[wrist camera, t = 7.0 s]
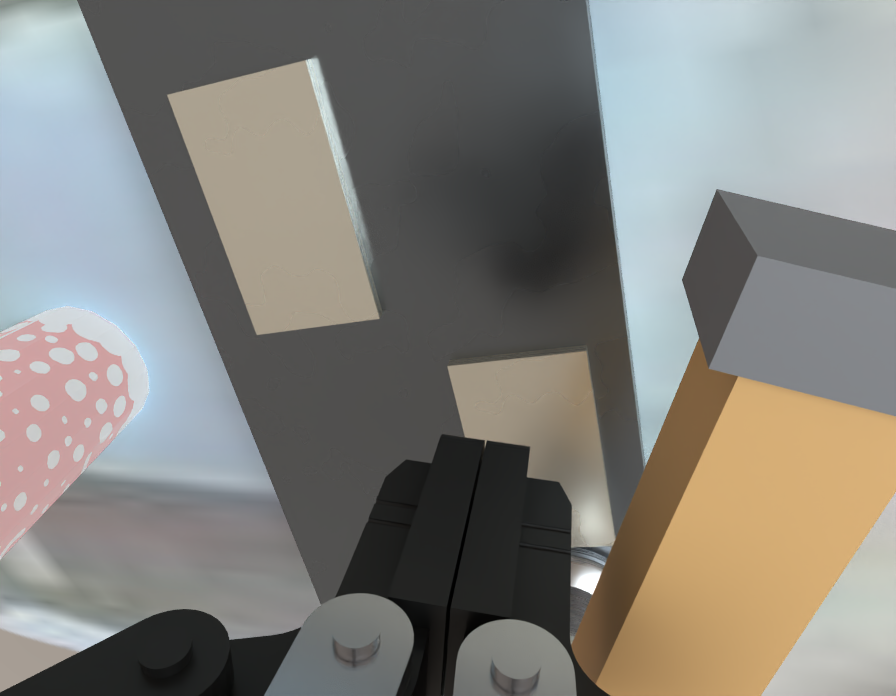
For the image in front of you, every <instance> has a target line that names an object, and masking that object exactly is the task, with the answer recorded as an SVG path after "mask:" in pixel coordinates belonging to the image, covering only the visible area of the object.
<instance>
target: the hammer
mask: <svg viewBox="0 0 896 696" xmlns="http://www.w3.org/2000/svg"><path fill="white" fill-rule="evenodd" d="M682 281H683V284H684V288H685V291H686V294H687V298H688V301H689V305H690V308H691V311H692V315H693V318H694V321H695V325H696V328H697V331H698V335H699V340H698V342H697V345H696V347H695V349H694V352H693V354H692V357H691V359H690V361H689V364H688V366H687V369H686V371H685V373H684V376H683V378H682V381H681V383H680V385H679V388H678V390H677V393H676V395H675V397H674V400H673V402H672V405H671V407H670V409H669V412H668V414H667V417H666V419H665V421H664V424H663V426H662V429H661V431H660V433H659V436H658V438H657V441H656V443H655V445H654V448H653V450H652V453H651V455H650V457H649V460H648V462H647V465H646V467H645V469H644V472H643V474H642V477H641V479H640V481H639V484H638V486H637V489H636V491H635V493H634V496H633V498H632V501H631V503H630V505H629V508H628V510H627V513H626V515H625V517H624V520H623V522H622V525H621V527H620V529H619V532H618V534H617V537H616V539H615V541H614V544H613V546H612V549H611V551H610V553H609V556H608V558H607V561H606V563H605V565H604V568H603V570H602V573H601V575H600V577H599V580H598V582H597V585H596V587H595V589H594V592H593V594H592V597H591V599H590V601H589V604H588V606H587V609H586V611H585V613H584V616H583V618H582V621H581V623H580V625H579V628H578V630H577V633H576V635H575V637H574V640H573V642H572V645H571V646H572V650H573V653H574V655H575V658H576V660H577V662H578V663H579V665H580V667H581V668H582V670H583V671H584V672H585V674H586V675H587V676H588V677H589V678H590V679H591V680H592V681H593V682H594V683H595V684H596V685H597V686H598V687H599V688H601V689H602V690H603V691H605V692H606V693H607V694H609V695H611V696H761V694H762V693H763V691H764V690H765V688H766V687H767V685H768V684H769V682H770V681H771V679H772V678H773V676H774V675H775V673H776V672H777V670H778V669H779V667H780V666H781V664H782V663H783V661H784V660H785V658H786V657H787V655H788V654H789V652H790V651H791V649H792V648H793V646H794V645H795V643H796V642H797V640H798V639H799V637H800V636H801V634H802V633H803V631H804V630H805V628H806V627H807V625H808V623H809V622H810V620H811V619H812V617H813V616H814V614H815V613H816V611H817V610H818V608H819V607H820V605H821V604H822V602H823V601H824V599H825V598H826V596H827V595H828V593H829V592H830V590H831V589H832V587H833V586H834V584H835V583H836V581H837V580H838V578H839V577H840V575H841V574H842V572H843V571H844V569H845V568H846V566H847V565H848V563H849V562H850V560H851V559H852V557H853V556H854V554H855V552H856V551H857V549H858V548H859V546H860V545H861V543H862V542H863V540H864V539H865V537H866V536H867V534H868V533H869V531H870V530H871V528H872V527H873V525H874V524H875V522H876V521H877V519H878V518H879V516H880V515H881V513H882V512H883V510H884V509H885V507H886V506H887V504H888V503H889V501H890V500H891V498H892V497H893V495H894V494H895V492H896V231H894V230H890V229H886V228H881V227H877V226H873V225H868V224H864V223H860V222H856V221H851V220H847V219H843V218H838V217H834V216H830V215H825V214H821V213H817V212H812V211H808V210H804V209H800V208H795V207H791V206H787V205H782V204H778V203H774V202H769V201H765V200H761V199H757V198H752V197H748V196H744V195H739V194H735V193H731V192H726V191H722V190H718V189H717V190H716V193H715V195H714V198H713V201H712V203H711V206H710V208H709V211H708V214H707V216H706V219H705V221H704V224H703V227H702V229H701V232H700V234H699V237H698V240H697V242H696V245H695V247H694V250H693V253H692V255H691V258H690V260H689V263H688V266H687V268H686V271H685V273H684V276H683V279H682Z"/></svg>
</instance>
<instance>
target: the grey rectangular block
mask: <svg viewBox="0 0 896 696" xmlns="http://www.w3.org/2000/svg"><path fill="white" fill-rule="evenodd" d="M77 1H78V3H79V6H80V8H81V11H82V13H83V16H84V18H85V21H86V23H87V26H88V28H89V31H90V33H91V36H92V38H93V41H94V43H95V45H96V48H97V50H98V53H99V55H100V58H101V60H102V63H103V65H104V68H105V70H106V73H107V75H108V78H109V80H110V83H111V85H112V88H113V90H114V93H115V95H116V98H117V100H118V102H119V105H120V107H121V110H122V112H123V115H124V117H125V120H126V122H127V125H128V127H129V130H130V132H131V135H132V137H133V140H134V142H135V145H136V147H137V150H138V152H139V155H140V157H141V159H142V162H143V164H144V167H145V169H146V172H147V174H148V177H149V179H150V182H151V184H152V187H153V189H154V192H155V194H156V197H157V199H158V202H159V204H160V207H161V209H162V212H163V214H164V216H165V219H166V221H167V224H168V226H169V229H170V231H171V234H172V236H173V239H174V241H175V244H176V246H177V249H178V251H179V254H180V256H181V259H182V261H183V264H184V266H185V269H186V271H187V273H188V276H189V278H190V281H191V283H192V286H193V288H194V291H195V293H196V296H197V298H198V301H199V303H200V306H201V308H202V311H203V313H204V316H205V318H206V321H207V323H208V325H209V328H210V330H211V333H212V335H213V338H214V340H215V343H216V345H217V348H218V350H219V353H220V355H221V358H222V360H223V363H224V365H225V368H226V370H227V373H228V375H229V378H230V380H231V382H232V385H233V387H234V390H235V392H236V395H237V397H238V400H239V402H240V405H241V407H242V410H243V412H244V415H245V417H246V420H247V422H248V425H249V427H250V430H251V432H252V435H253V437H254V439H255V442H256V444H257V447H258V449H259V452H260V454H261V457H262V459H263V462H264V464H265V467H266V469H267V472H268V474H269V477H270V479H271V482H272V484H273V487H274V489H275V492H276V494H277V496H278V499H279V501H280V504H281V506H282V509H283V511H284V514H285V516H286V519H287V521H288V524H289V526H290V529H291V531H292V534H293V536H294V539H295V541H296V544H297V546H298V549H299V551H300V553H301V556H302V558H303V561H304V563H305V566H306V568H307V571H308V573H309V576H310V578H311V581H312V583H313V586H314V588H315V591H316V593H317V596H318V598H319V601H320V603H321V605H322V604H324V603H326V602H327V601H329V600H331V599H334V598H335V596H336V594H337V592H338V590H339V588H340V585H341V583H342V580H343V578H344V576H345V573H346V571H347V568H348V566H349V563H350V561H351V559H352V556H353V554H354V551H355V549H356V547H357V544H358V542H359V539H360V537H361V535H362V532H363V530H364V527H365V525H366V523H368V519H369V515H370V513H371V511H372V508H373V506H374V504H376V499H377V496H378V494H379V491H380V489H381V487H382V484H383V482H384V479H385V477H386V476H387V475H388V474H389V473H391V472H392V471H393V470H394V469H395V468H396V467H398V466H399V465H400V464H401V463H402V462H403V461H405V460H406V459H407V460H413V461H420V462H427V463H432V460H433V457H434V454H435V451H436V448H437V445H438V442H439V439H440V436H441V435H442V434H445V435H452V436H460V437H467V438H474V439H481V440H485V446H486V442H487V440H488V441H495V442H503V443H510V444H517V445H524V446H530V454H529V462H528V471H527V477H529V478H536V479H542V480H549V481H556V482H559V483H560V484H561V486H562V488H563V490H564V492H565V493H566V495H567V497H568V499H569V501H570V502H571V504H572V530H571V593H570V642H571V645H572V642H573V640H574V637H575V635H576V633H577V630H578V628H579V625H580V623H581V621H582V618H583V616H584V613H585V611H586V609H587V606H588V604H589V601H590V599H591V597H592V594H593V592H594V589H595V587H596V585H597V582H598V580H599V577H600V575H601V573H602V570H603V568H604V565H605V563H606V561H607V558H608V556H609V553H610V551H611V549H612V546H613V544H614V541H615V539H616V537H617V534H618V532H619V529H620V527H621V525H622V522H623V520H624V517H625V515H626V513H627V510H628V508H629V505H630V503H631V501H632V498H633V496H634V493H635V491H636V489H637V486H638V484H639V481H640V479H641V477H642V474H643V472H644V469H645V458H644V450H643V442H642V434H641V426H640V417H639V409H638V401H637V393H636V385H635V377H634V368H633V360H632V352H631V344H630V336H629V327H628V319H627V311H626V303H625V295H624V286H623V278H622V270H621V262H620V254H619V246H618V237H617V229H616V221H615V213H614V205H613V196H612V188H611V180H610V172H609V164H608V155H607V147H606V139H605V131H604V123H603V114H602V106H601V98H600V90H599V82H598V74H597V65H596V57H595V49H594V41H593V33H592V24H591V16H590V8H589V0H77Z"/></svg>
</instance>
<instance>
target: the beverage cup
mask: <svg viewBox="0 0 896 696" xmlns="http://www.w3.org/2000/svg"><path fill="white" fill-rule="evenodd" d="M148 394H149V381H148V371H147V367H146V365H145V363H144V361H143V359H142V357H141V355H140V353H139V351H138V349H137V347H136V345H135V344H134V343H133V342H132V341H131V340H130V339H129V338H128V337H127V336H126V335H125V334H124V333H123V332H122V331H121V330H120V329H119V328H118V327H117V326H116V325H115V324H113V323H112V322H110V321H108V320H106V319H105V318H103V317H101V316H100V315H98V314H96V313H94V312H93V311H89V310H84V309H80V308H75V307H70V306H65V307H60V308H55V309H51V310H46V311H44V312H42V313H40V314H38V315H36V316H33V317H31V318H29V319H27V320H25V321H23V322H21V323H19V324H16V325H14V326H12V327H10V328H8V329H6V330H4V331H2V332H0V559H1V558H2V557H3V556H4V555H5V554H6V553H7V552H8V551H9V550H10V549H11V548H12V547H13V546H14V544H15V543H16V542H17V541H18V540H19V539H20V538H21V537H22V536H23V535H24V534H25V533H26V532H27V531H28V530H29V529H30V528H31V526H32V525H33V524H34V523H35V522H36V521H37V520H38V519H39V518H40V517H41V516H42V515H43V514H44V513H45V512H46V511H47V509H48V508H49V507H50V506H51V505H52V504H53V503H54V502H55V501H56V500H57V499H58V498H59V497H60V496H61V495H62V494H63V493H64V491H65V490H66V489H67V488H68V487H69V486H70V485H71V484H72V483H73V482H74V481H75V480H76V479H77V478H78V477H79V476H80V474H81V473H82V472H83V471H84V470H85V469H86V468H87V467H88V466H89V465H90V464H91V463H92V462H93V461H94V460H95V459H96V458H97V456H98V455H99V454H100V453H101V452H102V451H103V450H104V449H105V448H106V447H107V446H108V445H109V444H110V443H111V442H112V441H113V439H114V438H115V437H116V436H117V435H118V434H119V433H120V432H121V431H122V430H123V429H124V428H125V427H126V426H127V425H128V424H129V423H130V421H131V420H132V419H133V418H134V417H135V416H136V415H137V414H138V413H139V412H140V411H141V410H142V409H143V406H144V404H145V401H146V399H147V396H148Z"/></svg>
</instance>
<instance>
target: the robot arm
mask: <svg viewBox="0 0 896 696" xmlns="http://www.w3.org/2000/svg"><path fill="white" fill-rule="evenodd" d="M529 454H530V446H524V445H517V444H510V443H503V442H495V441H488V440H487V442H486V446H485V440H481V439H474V438H467V437H460V436H452V435H445V434H442V435H441V436H440V439H439V442H438V445H437V448H436V451H435V454H434V457H433V460H432V463H427V462H420V461H413V460H407V459H406V460H405V461H403V462H402V463H401V464H400V465H399V466H398V467H396V468H395V469H394V470H393V471H392V472H391V473H389V474H388V475H387V476H386V477H385V479H384V482H383V484H382V487H381V489H380V491H379V494H378V496H377V499H376V504H374V506H373V508H372V511H371V513H370V515H369V519H368V523H366V525H365V527H364V530H363V532H362V535H361V537H360V539H359V542H358V544H357V547H356V549H355V551H354V554H353V556H352V559H351V561H350V563H349V566H348V568H347V571H346V573H345V576H344V578H343V580H342V583H341V585H340V588H339V590H338V592H337V594H336V596H335V598H334V599H331V600H329V601H327V602H326V603H324V604H322V605H321V606H319V607H318V608H317V609H315V610H314V611H313V612H312V613H311V614H310V616H309V617H308V618H307V619H306V621H305V622H304V624H303V626H302V627H300V628H298V629H296V630H293V631H290V632H286V633H283V634H277V635H271V636H262V637H253V638H243V639H234V640H229V637H228V633H227V631H226V629H225V627H224V626H223V625H222V623H221V622H220V621H219V620H218V619H216V618H215V617H213V616H212V615H210V614H207V613H205V612H202V611H197V610H189V609H181V610H172V611H166V612H162V613H159V614H156V615H153V616H151V617H149V618H146V619H144V620H142V621H140V622H138V623H136V624H134V625H132V626H130V627H128V628H126V629H124V630H123V631H121V632H119V633H117V634H115V635H113V636H111V637H109V638H107V639H105V640H103V641H101V642H99V643H97V644H95V645H93V646H91V647H89V648H87V649H85V650H83V651H81V652H79V653H77V654H75V655H73V656H71V657H69V658H67V659H65V660H63V661H61V662H59V663H57V664H56V665H54V666H52V667H50V668H48V669H46V670H44V671H42V672H40V673H38V674H36V675H34V676H32V677H30V678H28V679H26V680H24V681H22V682H20V683H18V684H16V685H14V686H12V687H10V688H8V689H6V690H4V691H2V692H0V696H611V695H609V694H607V693H606V692H605V691H603V690H602V689H601V688H599V687H598V686H597V685H596V684H595V683H594V682H593V681H592V680H591V679H590V678H589V677H588V676H587V675H586V674H585V672H584V671H583V670H582V668H581V667H580V665H579V663H578V662H577V660H576V658H575V655H574V653H573V650H572V646H571V642H570V593H571V530H572V504H571V502H570V501H569V499H568V497H567V495H566V493H565V492H564V490H563V488H562V486H561V484H560V483H559V482H556V481H549V480H542V479H536V478H529V477H527V471H528V462H529Z"/></svg>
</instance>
